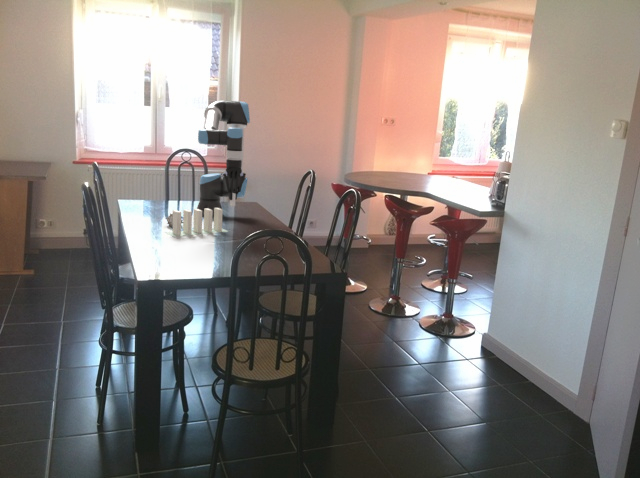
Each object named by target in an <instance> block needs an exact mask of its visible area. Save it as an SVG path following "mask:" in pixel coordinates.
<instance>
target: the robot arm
mask: <svg viewBox="0 0 640 478" xmlns="http://www.w3.org/2000/svg"><path fill="white" fill-rule="evenodd" d="M203 114H204V116H203V117H204V125H203V128H199V130H198V135H197V139H198V140H197V141H198V144H203V145H213V146H216V145H217V146H226V162H225V163H226V165H225V166H226V169H225V171H224V172H221V173H207V174H203V175H201V176H200V178H199V201H198V204H197V207H196V209H199V210H202V217H204V209H205V208H208V209H211V210H213V213H212V218H214V208H220V209H223V208H222V207H223V206H222V204H221V197H222V198H228V200H229V206H230V207H236V201H237V199H239V198H244V197H245V195H246V191H247V187H248V186H247V185H248V180H249V179H248V177H246V176H247V175H246V173H245V171H244V152H245V151H244V150H245V149H244V148H245V147H244V146H245V129H246V128H247V127H248V124H250V123H251V119H250V108H249V104H248V103H247V102H245V101H241V100H223V99H222V100H216V101H214V102H212V103H210V104H209V105H208V106H207V107H206V108H205V110H204V113H203ZM220 122H224V123H225V122H226V126H227V130H225V129H224V130H223V129H219V128H220ZM223 215H224V211H223V212H222V216H223Z"/></svg>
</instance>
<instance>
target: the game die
mask: <svg viewBox="0 0 640 478" xmlns="http://www.w3.org/2000/svg"><path fill="white" fill-rule="evenodd" d="M182 217H183V216H181V225H183V220H182ZM164 219H166V220H167V225H168V226H169V227H172V228H173V213H169V216H168V217H164Z"/></svg>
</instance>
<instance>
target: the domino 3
mask: <svg viewBox="0 0 640 478" xmlns="http://www.w3.org/2000/svg"><path fill="white" fill-rule="evenodd" d="M202 228H203V216H202V210H199V209H197V208H194V209H193V229H192V230H193V231H195V232H197V233H202Z"/></svg>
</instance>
